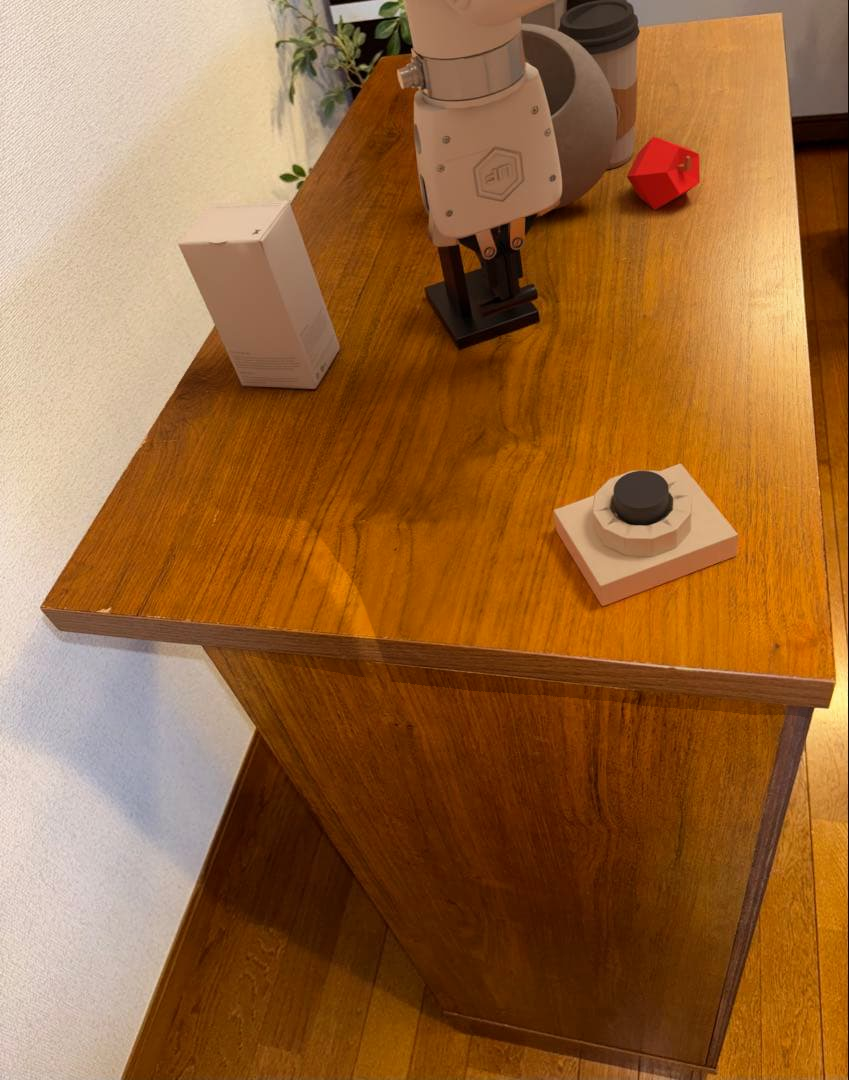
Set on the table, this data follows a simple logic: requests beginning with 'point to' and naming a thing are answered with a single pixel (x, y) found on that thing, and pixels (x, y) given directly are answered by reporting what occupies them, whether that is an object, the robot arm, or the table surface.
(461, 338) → the bracket
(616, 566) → the block
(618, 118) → the coffee cup
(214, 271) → the cosmetic box
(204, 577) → the table surface
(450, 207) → the robot arm
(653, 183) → the apple
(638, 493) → the button
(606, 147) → the planter
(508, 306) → the lever
